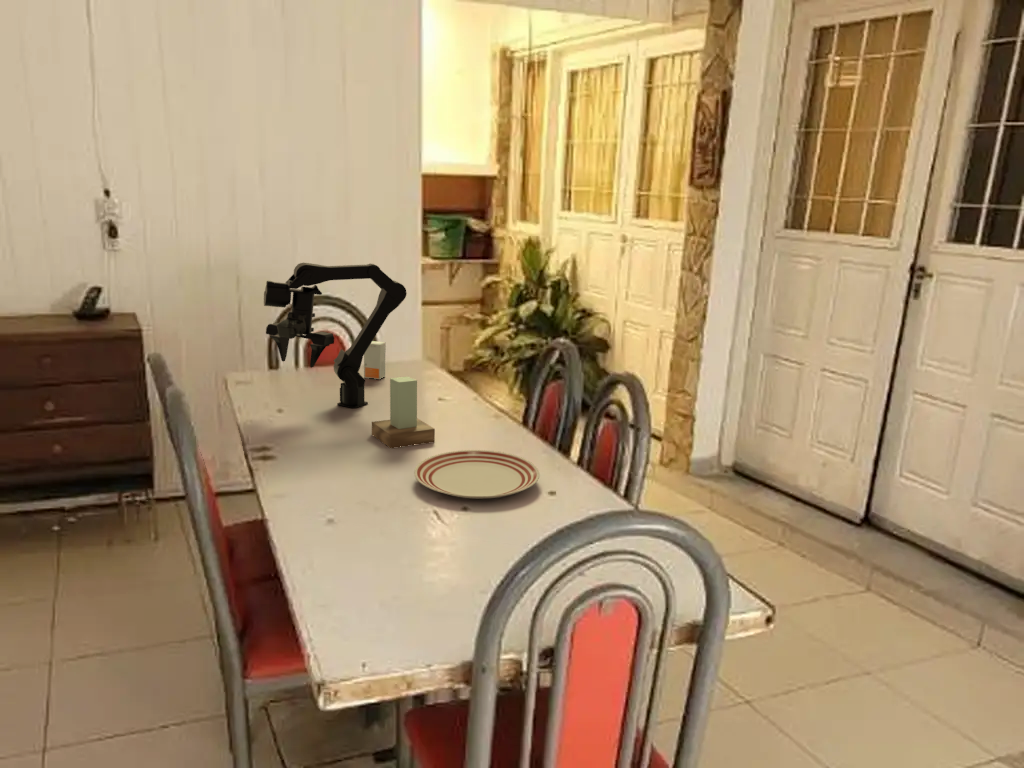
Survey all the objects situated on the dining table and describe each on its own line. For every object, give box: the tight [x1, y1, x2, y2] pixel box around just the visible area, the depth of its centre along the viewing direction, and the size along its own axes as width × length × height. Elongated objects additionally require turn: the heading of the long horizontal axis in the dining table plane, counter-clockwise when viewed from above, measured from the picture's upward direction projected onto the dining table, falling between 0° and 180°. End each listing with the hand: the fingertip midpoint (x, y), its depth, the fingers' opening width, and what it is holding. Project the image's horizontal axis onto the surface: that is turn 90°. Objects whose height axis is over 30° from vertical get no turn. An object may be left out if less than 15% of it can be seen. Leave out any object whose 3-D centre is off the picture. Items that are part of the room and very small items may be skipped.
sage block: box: [389, 376, 418, 429], centre depth 206 cm, size 5×5×12 cm
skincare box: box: [363, 340, 387, 380], centre depth 269 cm, size 6×4×12 cm
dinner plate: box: [413, 449, 541, 500], centre depth 180 cm, size 28×27×3 cm
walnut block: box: [371, 417, 436, 449], centre depth 208 cm, size 12×12×4 cm
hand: (297, 364), depth 229 cm, fingers open, 9 cm apart
